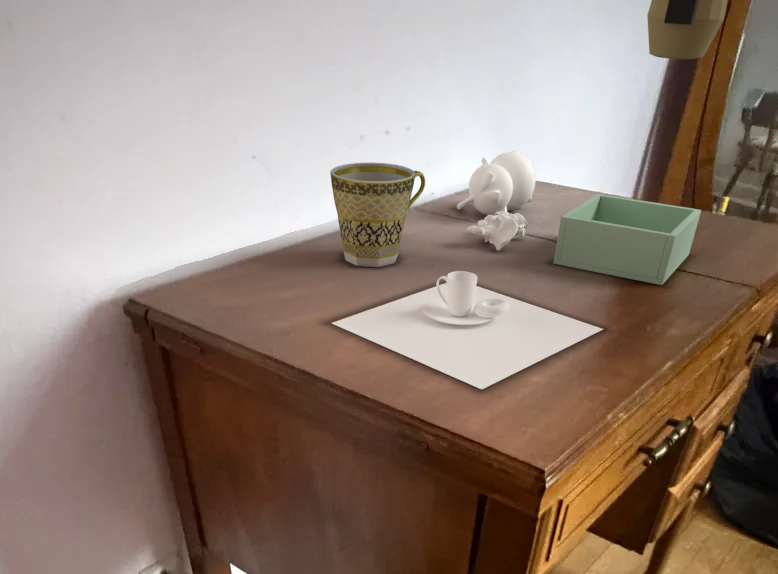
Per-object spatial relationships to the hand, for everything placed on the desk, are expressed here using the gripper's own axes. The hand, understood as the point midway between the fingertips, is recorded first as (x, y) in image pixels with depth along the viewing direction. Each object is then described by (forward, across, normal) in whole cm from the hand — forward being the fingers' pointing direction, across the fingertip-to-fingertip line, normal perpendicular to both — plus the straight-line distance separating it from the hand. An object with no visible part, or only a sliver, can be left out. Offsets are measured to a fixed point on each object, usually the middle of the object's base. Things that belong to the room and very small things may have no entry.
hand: (687, 21), depth 78 cm
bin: (+25, +3, 0) cm, 25 cm away
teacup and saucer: (+25, +34, -7) cm, 43 cm away
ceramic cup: (+25, +20, -26) cm, 41 cm away
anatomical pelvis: (+25, +6, -16) cm, 30 cm away
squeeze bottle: (+3, 0, 0) cm, 3 cm away
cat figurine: (+25, -8, -24) cm, 35 cm away
